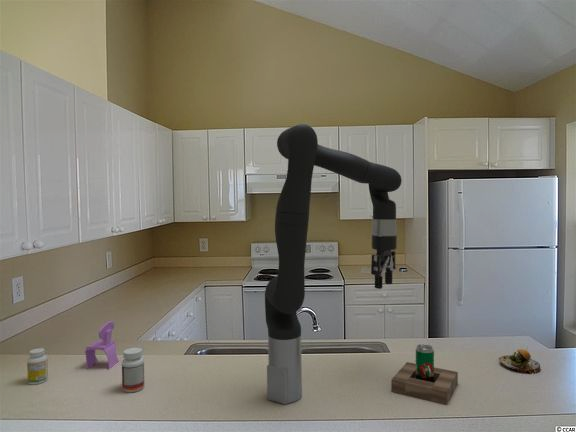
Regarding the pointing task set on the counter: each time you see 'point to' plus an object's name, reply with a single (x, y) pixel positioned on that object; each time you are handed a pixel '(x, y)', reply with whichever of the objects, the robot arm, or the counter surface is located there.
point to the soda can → (425, 363)
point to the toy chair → (103, 347)
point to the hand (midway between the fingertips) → (383, 286)
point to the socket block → (425, 384)
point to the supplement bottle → (37, 367)
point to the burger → (520, 362)
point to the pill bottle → (132, 370)
